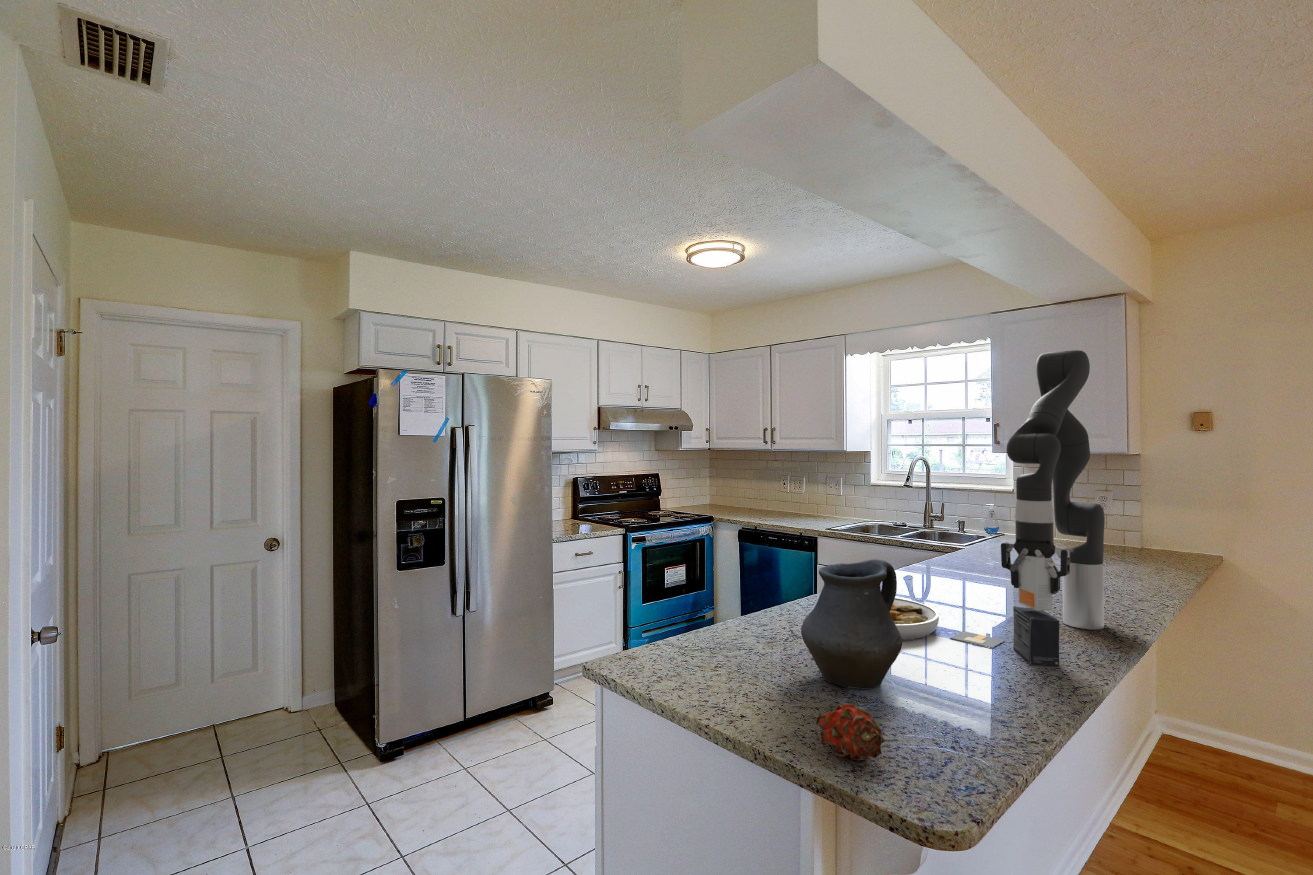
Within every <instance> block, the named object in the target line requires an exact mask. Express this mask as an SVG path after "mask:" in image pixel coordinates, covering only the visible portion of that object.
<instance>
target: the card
mask: <svg viewBox="0 0 1313 875" xmlns="http://www.w3.org/2000/svg"><path fill="white" fill-rule="evenodd" d="M950 640H953V641H958V642H961V641H962V643H966V644H970V643H973V644H972V645H974V644H977V645H976V646H978V645H981V646H980V647H983V646H987V647H990V648H989V649H991V648H993V647H995V646H996V647H998V646H1000V645H1001V644H1000V643H1002V644H1003V643H1005V642H1006V640H1005V639H1000V638H997V637H991V636H988V635H982V634H978V633H973V632H968V631H961V632H959V633H957V634H955V635H952V636H951V637H950ZM1004 641H1005V642H1004ZM999 644H1000V645H999ZM997 645H998V646H997ZM987 647H986V648H987ZM996 647H995V648H996ZM993 649H994V648H993Z"/></svg>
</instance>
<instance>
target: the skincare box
mask: <svg viewBox="0 0 1313 875" xmlns="http://www.w3.org/2000/svg"><path fill="white" fill-rule="evenodd" d="M1018 556H1019V554H1018V553H1017V557H1018ZM1046 559H1047V560H1048V562H1049V563H1050V564H1052V560H1053V558H1052V557H1051V558H1046ZM1045 564H1046V563H1045V559H1044V558H1038V557H1035V556H1025V558H1024V560H1023V561H1022V563H1021V565H1020V566H1019V567H1018V582H1019V588H1018V604H1019V605H1022V606H1024V607H1026V608H1032V609H1034V610H1036V611H1040V610H1043V611H1052V610H1053V594H1051V577H1052V576H1051V574H1050V573H1049V571H1048V570H1047V569H1046V568H1045Z"/></svg>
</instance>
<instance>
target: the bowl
mask: <svg viewBox="0 0 1313 875" xmlns="http://www.w3.org/2000/svg"><path fill="white" fill-rule="evenodd" d="M890 615H891V617H892V619H893V621H894V623H895V625H896V627H897V628H898V630H899V632H900V634H901V637H902V641H910V640H916V639H921V638H924V637H926V636H928V635H931V634H932V633H933V632H934V631H935V630H936V628H937V627H938V624H939V620H940V617H939V612H938V611H937V610H936V609H935V608H933V607H931V606H930V605H927V604H924V603H921V602H919V601H914V600H911V599H906V598H905V599H904V598H900V597H895V599H894V602H893V604H892V607H891V610H890Z"/></svg>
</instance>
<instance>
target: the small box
mask: <svg viewBox="0 0 1313 875" xmlns="http://www.w3.org/2000/svg"><path fill="white" fill-rule="evenodd" d="M1012 610H1013V648H1012V649H1013V651H1014V650H1015V651H1016V654H1018V656H1020V657H1021V658H1022V659H1023V660H1025V661H1026V662H1027V663H1028V664H1029V665H1035V666H1036V665H1038V666H1051V667H1060V620H1059V619H1057V618H1056V617H1054V616H1053V615H1051V614H1049V613H1048V612H1046V610H1040V611H1036V610H1034V609H1032V608H1029V607H1025V606H1024V607H1023V606H1022V607H1021V606H1013V608H1012ZM1015 651H1014V652H1015Z"/></svg>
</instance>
